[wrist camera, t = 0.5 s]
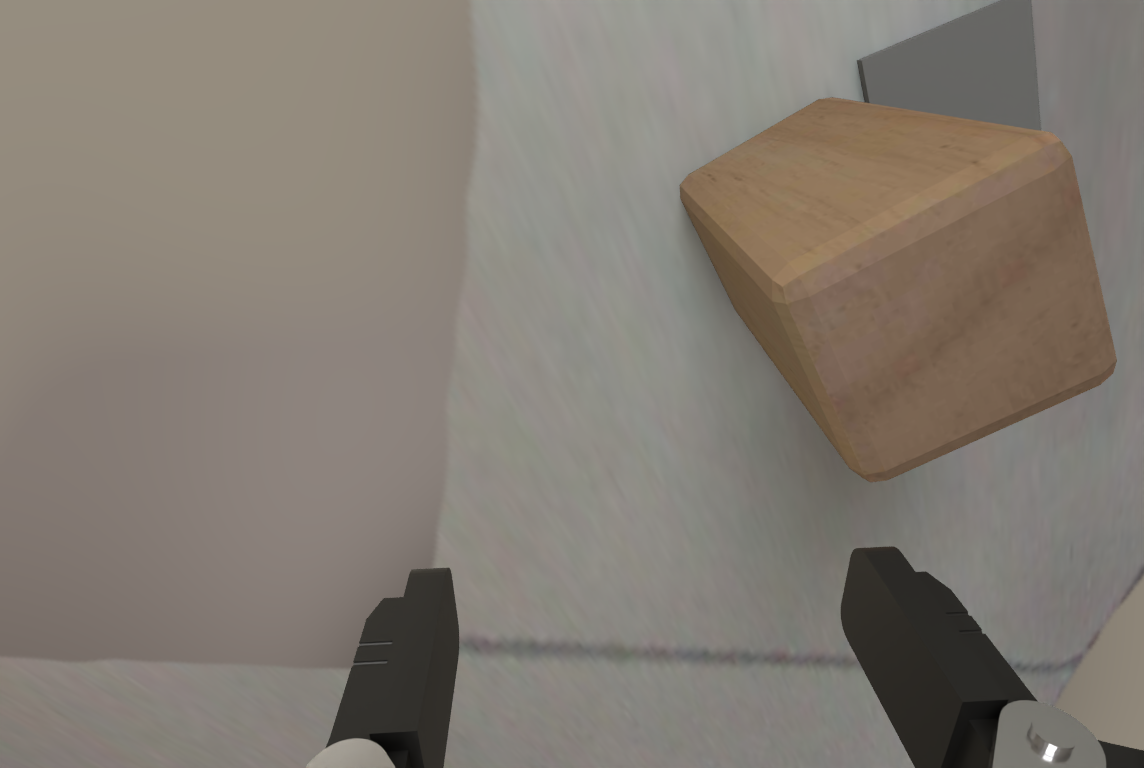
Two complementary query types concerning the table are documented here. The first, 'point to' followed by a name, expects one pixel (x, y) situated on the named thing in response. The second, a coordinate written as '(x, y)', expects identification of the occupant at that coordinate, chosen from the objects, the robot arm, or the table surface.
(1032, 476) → the table surface
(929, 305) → the block
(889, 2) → the table surface
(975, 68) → the mat
